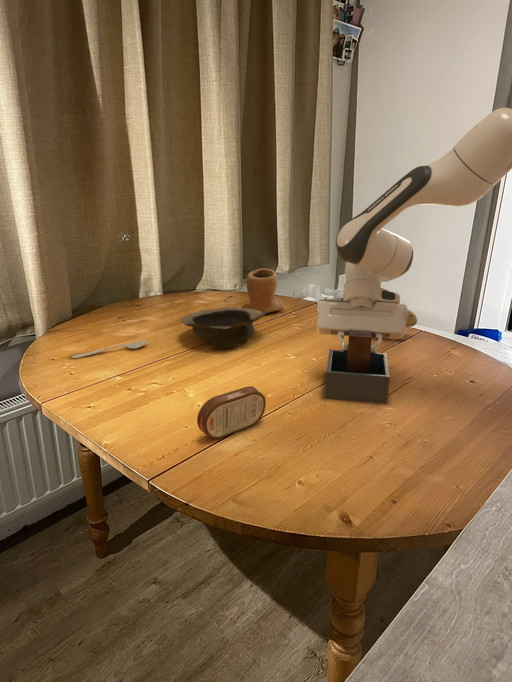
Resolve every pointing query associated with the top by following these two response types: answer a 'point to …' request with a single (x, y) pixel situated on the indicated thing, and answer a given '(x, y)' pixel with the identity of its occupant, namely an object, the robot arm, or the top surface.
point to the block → (359, 351)
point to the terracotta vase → (263, 291)
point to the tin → (231, 412)
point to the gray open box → (357, 379)
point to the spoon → (129, 345)
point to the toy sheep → (408, 317)
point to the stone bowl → (224, 325)
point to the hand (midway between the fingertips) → (358, 352)
